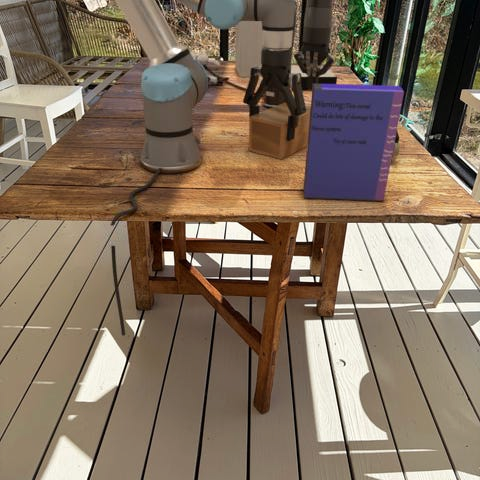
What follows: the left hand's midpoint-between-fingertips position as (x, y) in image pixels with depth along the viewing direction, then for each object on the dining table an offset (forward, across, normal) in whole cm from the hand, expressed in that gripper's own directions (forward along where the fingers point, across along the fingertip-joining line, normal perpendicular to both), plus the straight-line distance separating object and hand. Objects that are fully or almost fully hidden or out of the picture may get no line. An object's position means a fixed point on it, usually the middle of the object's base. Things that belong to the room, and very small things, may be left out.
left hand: (272, 135), depth 129 cm
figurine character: (+5, -25, -16) cm, 30 cm away
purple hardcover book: (+5, -28, +13) cm, 31 cm away
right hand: (-8, 0, -21) cm, 22 cm away
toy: (+5, +91, -69) cm, 114 cm away
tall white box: (+5, +62, -80) cm, 101 cm away
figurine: (+5, +67, -44) cm, 80 cm away
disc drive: (+5, +31, -77) cm, 83 cm away
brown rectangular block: (+5, 0, -6) cm, 8 cm away
